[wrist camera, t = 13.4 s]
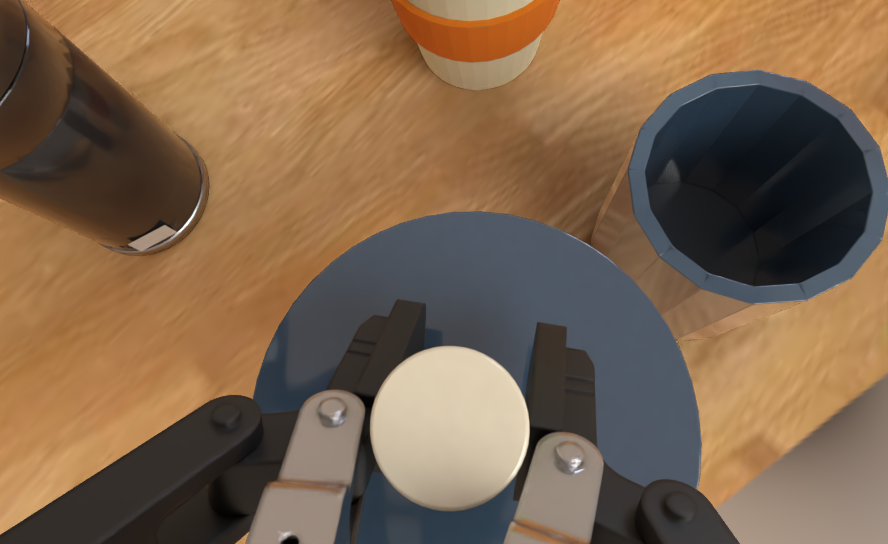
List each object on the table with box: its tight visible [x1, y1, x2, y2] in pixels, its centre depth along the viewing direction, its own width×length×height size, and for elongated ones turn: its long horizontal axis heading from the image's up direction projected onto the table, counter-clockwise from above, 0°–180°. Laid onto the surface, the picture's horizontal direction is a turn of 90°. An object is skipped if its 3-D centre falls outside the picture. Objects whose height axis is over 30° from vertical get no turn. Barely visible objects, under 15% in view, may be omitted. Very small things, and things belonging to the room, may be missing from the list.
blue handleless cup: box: [590, 70, 888, 340], centre depth 33 cm, size 11×11×13 cm
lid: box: [253, 211, 702, 544], centre depth 14 cm, size 12×12×7 cm
